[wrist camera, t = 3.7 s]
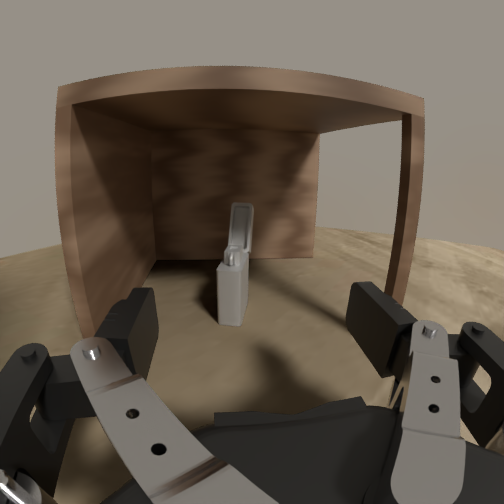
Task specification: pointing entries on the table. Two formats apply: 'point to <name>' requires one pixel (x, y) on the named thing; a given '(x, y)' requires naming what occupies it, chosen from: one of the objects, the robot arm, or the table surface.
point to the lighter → (235, 267)
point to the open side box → (208, 169)
